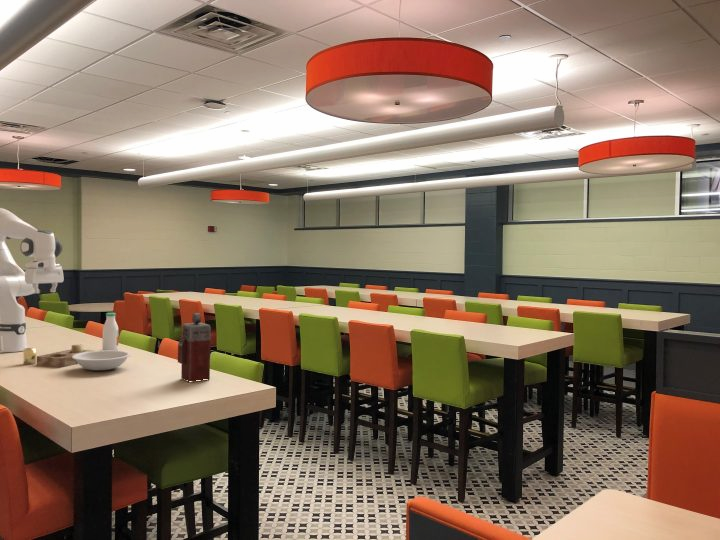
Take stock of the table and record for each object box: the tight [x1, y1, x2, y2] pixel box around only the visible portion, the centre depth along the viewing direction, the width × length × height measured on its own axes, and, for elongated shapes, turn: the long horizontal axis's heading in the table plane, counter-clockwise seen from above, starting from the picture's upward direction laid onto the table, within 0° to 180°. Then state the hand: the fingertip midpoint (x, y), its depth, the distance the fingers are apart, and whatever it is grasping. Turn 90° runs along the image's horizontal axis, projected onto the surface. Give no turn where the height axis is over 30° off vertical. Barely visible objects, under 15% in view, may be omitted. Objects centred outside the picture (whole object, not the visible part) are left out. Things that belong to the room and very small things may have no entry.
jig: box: [36, 344, 93, 368], centre depth 266 cm, size 14×22×7 cm, turn 165°
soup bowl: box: [72, 350, 132, 371], centre depth 252 cm, size 24×24×7 cm
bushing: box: [22, 347, 37, 366], centre depth 260 cm, size 5×5×7 cm
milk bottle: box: [101, 312, 119, 351], centre depth 300 cm, size 8×8×20 cm
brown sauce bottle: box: [177, 312, 212, 381], centre depth 236 cm, size 9×11×28 cm
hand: (45, 292), depth 270 cm, fingers open, 8 cm apart
